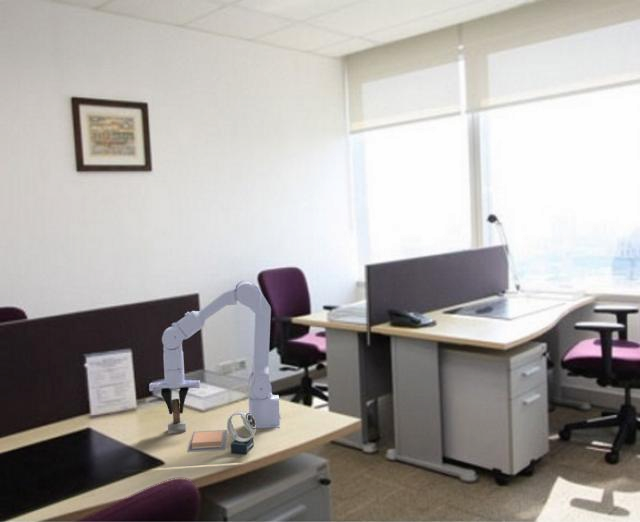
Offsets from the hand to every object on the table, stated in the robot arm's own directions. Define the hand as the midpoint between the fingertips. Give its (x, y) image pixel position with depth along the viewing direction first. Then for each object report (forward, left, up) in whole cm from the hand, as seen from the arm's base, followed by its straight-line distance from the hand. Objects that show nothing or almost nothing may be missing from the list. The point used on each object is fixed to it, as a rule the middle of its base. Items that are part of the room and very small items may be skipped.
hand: (176, 412), depth 182 cm
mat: (-10, +10, -6) cm, 15 cm away
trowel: (0, 0, -6) cm, 6 cm away
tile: (-10, +7, -5) cm, 13 cm away
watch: (-20, +18, -6) cm, 28 cm away
